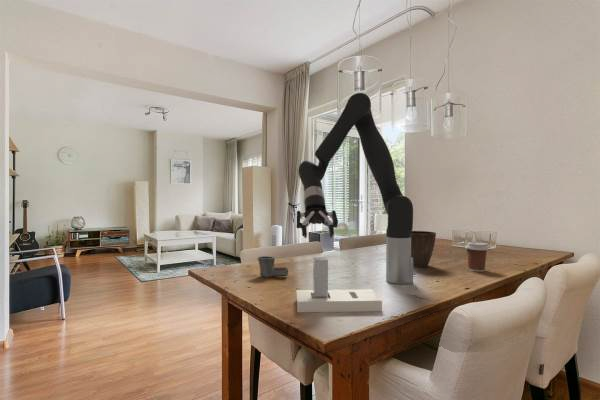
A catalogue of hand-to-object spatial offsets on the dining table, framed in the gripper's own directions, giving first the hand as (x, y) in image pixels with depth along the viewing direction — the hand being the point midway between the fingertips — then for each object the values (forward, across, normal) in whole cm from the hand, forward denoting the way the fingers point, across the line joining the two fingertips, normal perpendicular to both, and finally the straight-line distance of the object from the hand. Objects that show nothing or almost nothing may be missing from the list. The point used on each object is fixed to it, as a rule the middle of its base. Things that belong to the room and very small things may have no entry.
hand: (318, 236), depth 104 cm
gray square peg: (+21, -1, +6) cm, 22 cm away
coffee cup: (-8, +75, +38) cm, 84 cm away
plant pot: (-15, +53, +45) cm, 71 cm away
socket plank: (+21, +4, +6) cm, 23 cm away
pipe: (-4, -16, +32) cm, 36 cm away
